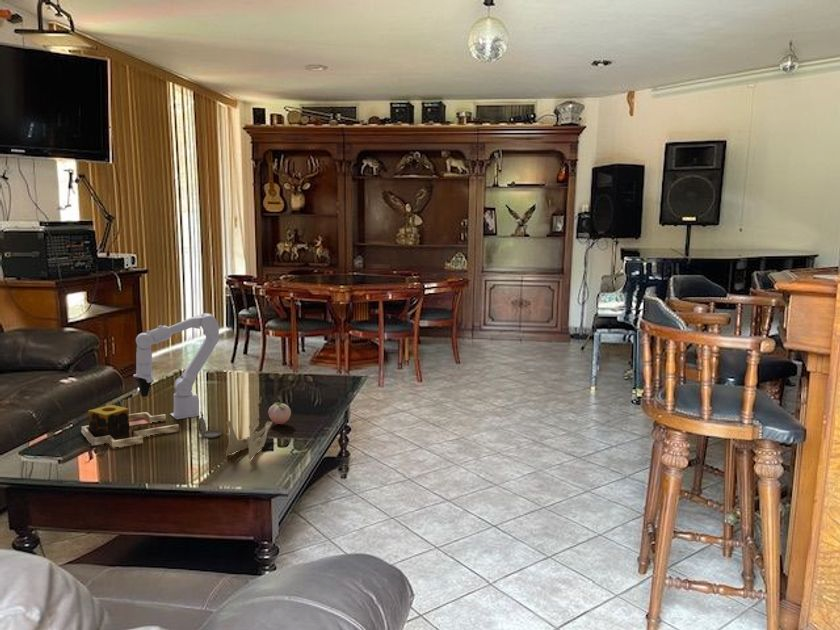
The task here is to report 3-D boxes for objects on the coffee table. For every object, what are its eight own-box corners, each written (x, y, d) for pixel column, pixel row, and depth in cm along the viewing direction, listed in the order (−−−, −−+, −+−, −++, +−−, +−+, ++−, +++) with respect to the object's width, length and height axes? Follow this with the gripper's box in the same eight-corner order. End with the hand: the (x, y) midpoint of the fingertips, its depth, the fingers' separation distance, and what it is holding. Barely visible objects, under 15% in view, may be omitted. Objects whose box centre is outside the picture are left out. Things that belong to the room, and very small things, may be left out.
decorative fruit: (295, 425, 247) (295, 402, 245) (277, 429, 241) (278, 405, 239) (281, 420, 253) (282, 397, 252) (264, 424, 247) (265, 400, 246)
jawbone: (251, 462, 206) (249, 422, 205) (225, 460, 209) (222, 421, 207) (283, 440, 231) (281, 405, 230) (259, 439, 233) (258, 404, 232)
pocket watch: (224, 434, 232) (224, 409, 231) (209, 441, 224) (209, 415, 223) (206, 431, 235) (206, 406, 233) (191, 437, 227) (191, 411, 225)
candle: (106, 442, 218) (106, 415, 217) (87, 437, 222) (86, 410, 221) (130, 434, 227) (130, 408, 226) (111, 429, 231) (110, 404, 230)
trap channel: (159, 415, 250) (159, 410, 249) (184, 436, 228) (184, 429, 228) (77, 428, 230) (77, 421, 230) (96, 451, 209) (96, 444, 208)
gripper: (128, 360, 245) (128, 393, 247) (139, 367, 234) (139, 401, 236) (146, 358, 250) (146, 391, 251) (158, 365, 239) (158, 399, 241)
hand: (144, 396), depth 244 cm, fingers closed
